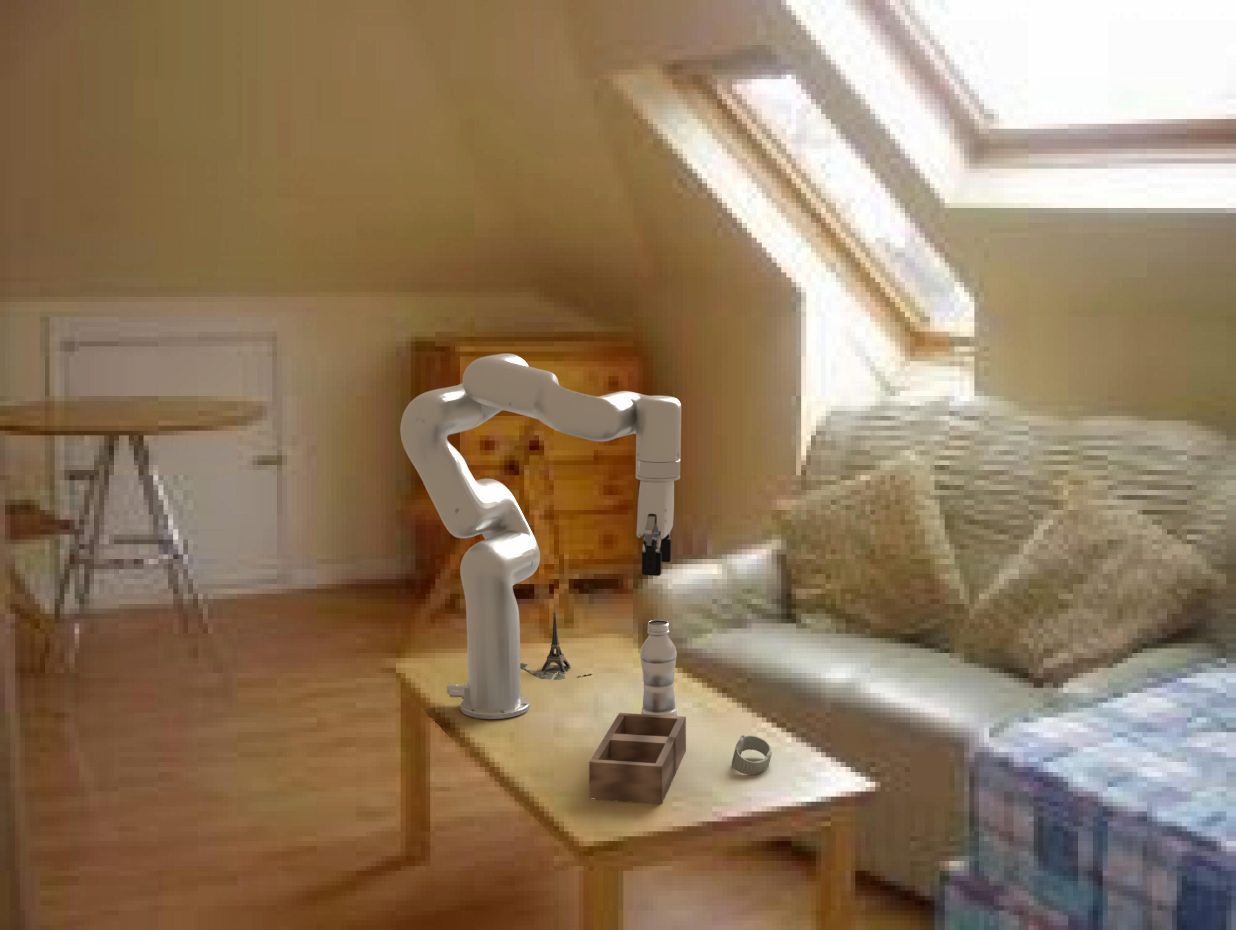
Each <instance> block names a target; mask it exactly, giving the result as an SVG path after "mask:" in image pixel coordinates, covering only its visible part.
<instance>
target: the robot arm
mask: <svg viewBox="0 0 1236 930" xmlns="http://www.w3.org/2000/svg"><path fill="white" fill-rule="evenodd" d="M502 411H507V412H511V413H515V414H517V415H520V416H521V415H522V416H526V417H529V418H532V419H536V420H538V421H540V422H541V423H542V424H543V425H546V426H548V427H549V428H551V429H552V430H555V431H557V432H560V433H561V434H564V435H565V434H566V435H570V436H573V437H577V438H580V439H584V440H588V441H592V442H609V441H613V440H615V439H618V438H621V437H624V436H625V437H626V436H629V435H633V434H634V435H635V436H636V437H635V443H636V444H635V445H636V446H635V479H637V480H639V481H640V483H639V490H638V498H637V518H636V519H637V520H636V521H637V522H636V537H638V538H639V539H641V538H643V543H642V550H641V575H643V576H653V577H654V576H655V577H659V576H661V575H662V563H670V562H671V560H672V539H671V535H672V532H671V531H672V529H673V526H674V515H675V514H674V513H675V481H678V480H680V479H681V448H682V442H681V441H682V403H681V402H680V400H679V399H678V398H676V397H674V396H669V395H647V394H642V393H638V392H633V391H628V390H620V391H616V392H612V393H608V394H604V395H599V396H596V395H591V394H586V393H581V392H578V391H574V390H571V389H568V388H566V387H563V386H561V385H560V384H559V379H558V377H557V376H556V374H554V373H553V372H551V371H549V370H545V369H539V368H536V367H533V366H529V364H528V363H527V362H526V360H524V359H523V358H522V357H520V356H518V355H516V354H513V353H509V352H508V353H507V352H506V353H504V352H503V353H498V354H497V353H496V354H491V355H487V356H482V357H478V358H477V359H474V360H473V361H472V362H470V364H469V365H467V367H466V368H465V370H464V372H463V375H462V383H459V384H458V385H452V386H447V387H442V388H441V387H440V388H436V389H432V390H429V391H425V392H423V393H421V394H419V395H417V396H416V397H415V398H414V399H412V400H411V401H410V402H409V403H408V405H407V406H406V408H405V410H404V411H403V413H402V417H401V421H400V428H399V429H400V431H399V432H400V438H401V439H400V440H401V443H402V447H403V449H404V451H405V452H406V454H407V457H408V459H409V460H410V462H411V463H412V465H413V466H414V468H415V470H416V472H417V474H418V475H419V477H420V478H421V480H422V482H423V483H422V484H423V486H424V487H425V490H426V491H427V493H428V495H429V497H430V499H431V501H432V503H433V505H434V508H435V509H436V511H437V513H438V515H439V518H440V520H441V521H442V524H443V525H444V527H445V528H446V530H447V531H448V532H449V533H450V535H452V536H453V537H455V538H458V539H467V538H468V539H469V538H472V537H476V536H479V535H482V537H483V538H484V539H483V540H481V541H478V542H476V543H475V544H473V545H472V546H470V547H469V548H468V549H467V550H466V552H465V553H464V555H463V557H462V559H461V562H460V567H459V568H460V569H459V570H460V571H459V573H460V580H461V584H462V589H463V594H464V599H465V600H464V601H465V611H466V617H465V618H466V635H467V636H466V639H467V641H466V642H467V643H466V644H467V669H468V670H467V671H468V672H467V673H468V674H467V675H468V677H467V679H468V682H465V683H464V684H459V683H448V684H447V687H446V691H447V692H446V693H447V694H448V695H449V697H450V698H461V699H462V700H461V702H460V711H461V712H462V714H464V715H466V716H467V717H471V718H475V719H482V720H483V719H484V720H499V719H501V720H502V719H503V720H504V719H509V718H514V717H517V716H520V715H523V714H525V713H526V712H528V710H529V709H530V703H531V702H530V700H529V699H528V697H526V696H525V695H522V685H521V684H522V683H521V674H522V673H521V668H520V663H521V640H520V639H521V637H520V636H521V632H520V629H521V628H520V626H521V625H520V613H519V612H520V610H519V605H518V602H517V599H516V596H515V593H514V589H513V586H514V585H516V584H518V583H520V582H523V581H525V580H527V579H529V578H530V577H531V576H532V575H534V574H535V573H536V571H537V570H538V568H539V566H540V561H541V553H540V552H541V551H540V547H539V544H538V542H537V539H536V537H535V535H534V533H533V531H532V530H531V528H530V525H529V523H528V522H527V519H526V517H525V516H524V513H523V512H522V511H523V510H521V508H520V506H519V504H518V502H517V500H516V498H515V496H514V495H513V493H512V492H511V491H510V489H508V487H507V486H506V485H505V484H504V483H502V482H500V481H499V480H496V479H492V478H481V479H475V478H474V475H473V474H472V472H471V471H470V468H469V466H468V465H467V462H466V460H465V458H464V457H463V455H462V454H461V453H460V452H459V451H458V449H457V448H456V447H454V446H453V444H451V442H450V441H449V440H448V436H450V435H454V434H455V435H456V434H458V433H462V432H466V431H470V430H473V429H474V428H475V429H476V427H479V426H481V425H483V424H484V423H485V422H487V421H488V420H490V419H491V418H493V417H494V416H495V415H497V414H499V413H500V412H502Z"/></svg>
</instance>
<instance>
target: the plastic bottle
mask: <svg viewBox="0 0 1236 930" xmlns="http://www.w3.org/2000/svg"><path fill="white" fill-rule="evenodd" d="M669 625H670V624H669V621H668V620H664V619H653V620H650V621H648V623H647V631H646V632H647V635H648V637H647V638H646V639H645V640H644V642H643V644H642V646H641V648H640V651H639V658H640V663H641V670H642V681H643V695H642V696H643V697H642V708H641V712H640V714H649V715H666V716H678V712H677V707H676V701H675V691H674V689H675V688H674V687H675V683H674V682H675V670H676V663H677V656H678V655H677V654H678V652H677V648H676V645H675V644H674V643H673V641H672V639H671V638H670V636H669V634H670V628H669V627H670V626H669Z"/></svg>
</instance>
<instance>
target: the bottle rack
mask: <svg viewBox="0 0 1236 930" xmlns="http://www.w3.org/2000/svg"><path fill="white" fill-rule="evenodd" d="M686 725H687V717H686V716H683V715H681V716H680V715H679V716H678V715H677V716H666V715H649V714H641V713H629V712H627V713H626V712H618V713H617V715H616V717H615V718H614V720H613V722H612V724H611V725H610V727H609V729H608V730H607V732H606V734H605V735H604V737H603V739H602V740H601V742H600V744H599V745H598V747H597V748H596V750H595V752H594V754H592V757H591V758H590V759H589V760H588V761H589V762H588V769H589V770H588V773H589V774H588V775H589V776H588V777H589V781H588V782H589V785H588V786H589V791H588V792H589V799H590V798H595V799H594V800H599V799H604V800H603V801H614V800H618V801H617V802H628V801H631V803H642V802H643V803H645V804H656V805H657V804H660V805H662V804H663V803H664V801H663V800H665V799H664V798H666V797H667V793H668V791H669V789H670V787H671V785H672V783H673V781H674V778H675V776H676V774H677V771H678V770H679V767H680V765H681V763H682V761H683V758H684V756H685V753H687V732H686V731H687V726H686ZM671 782H672V783H671Z"/></svg>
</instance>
